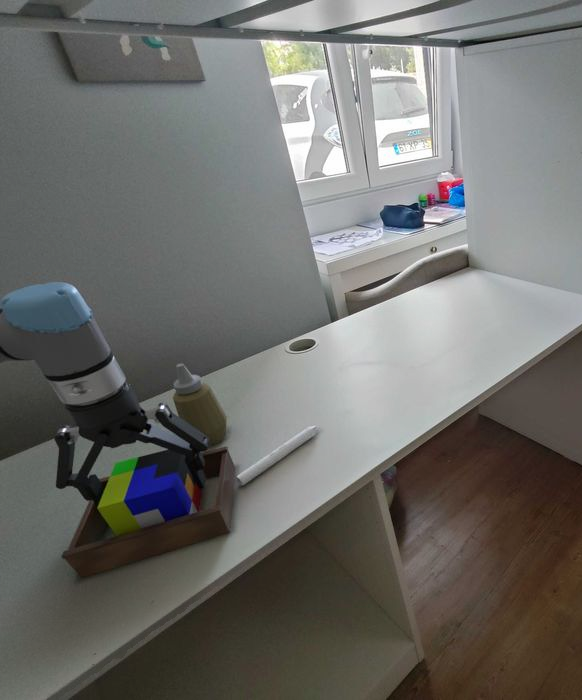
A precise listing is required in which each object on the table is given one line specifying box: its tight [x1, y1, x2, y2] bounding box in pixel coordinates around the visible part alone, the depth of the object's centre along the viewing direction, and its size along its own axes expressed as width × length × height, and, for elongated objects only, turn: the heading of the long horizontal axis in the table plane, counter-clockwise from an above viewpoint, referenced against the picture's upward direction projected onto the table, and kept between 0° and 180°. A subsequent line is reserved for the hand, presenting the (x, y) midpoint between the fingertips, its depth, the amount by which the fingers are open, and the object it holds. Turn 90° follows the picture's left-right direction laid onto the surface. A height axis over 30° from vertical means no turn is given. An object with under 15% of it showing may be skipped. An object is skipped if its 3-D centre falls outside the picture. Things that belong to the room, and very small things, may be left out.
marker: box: [235, 425, 320, 486], centre depth 87 cm, size 18×2×2 cm, turn 145°
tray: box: [60, 445, 236, 579], centre depth 74 cm, size 21×16×6 cm
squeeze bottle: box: [172, 363, 228, 446], centre depth 88 cm, size 8×8×18 cm
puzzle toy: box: [97, 449, 204, 536], centre depth 73 cm, size 10×10×10 cm
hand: (157, 496), depth 73 cm, fingers open, 13 cm apart
